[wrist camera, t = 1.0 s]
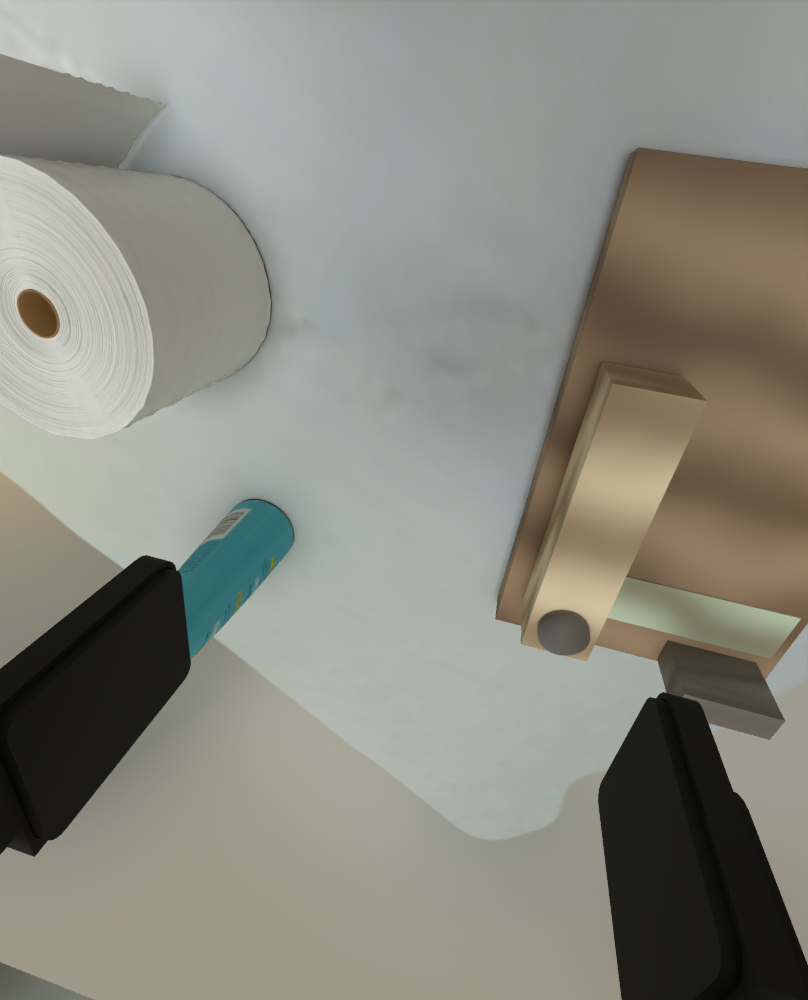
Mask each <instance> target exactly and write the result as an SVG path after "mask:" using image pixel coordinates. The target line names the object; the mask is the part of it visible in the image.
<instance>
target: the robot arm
mask: <svg viewBox="0 0 808 1000" xmlns="http://www.w3.org/2000/svg"><path fill="white" fill-rule="evenodd" d="M190 665H191V659H190V650H189V641H188V632H187V622H186V613H185V604H184V595H183V586H182V577H181V573H180V572H179V571H176V567H175V565H174V564H173V563H172V562H170V561H166V560H162V559H158V558H154V557H151V556H147V555H146V556H141V557H140V558H138V559H137V560H135V561H134V562H133V563H132V564H130V565H129V566H128V567H127V568H126V569H124V570H123V571H122V572H121V573H119V574H118V575H117V576H116V577H114V578H113V579H112V580H111V581H109V582H108V583H107V584H106V585H104V586H103V587H102V588H101V589H99V590H98V591H97V592H96V593H94V594H93V595H92V596H91V597H89V598H88V599H87V600H86V601H84V602H83V603H82V604H81V605H80V606H78V607H77V608H76V609H74V610H73V611H72V612H71V613H69V614H68V615H67V616H66V617H64V618H63V619H62V620H61V621H59V622H58V623H57V624H56V625H54V626H53V627H52V628H51V629H50V630H48V631H47V632H46V633H44V634H43V635H42V636H41V637H40V638H38V639H37V640H36V641H34V642H33V643H32V644H31V645H30V646H28V647H27V648H26V649H25V650H23V651H22V652H21V653H20V654H18V655H17V656H16V657H15V658H13V659H12V660H11V661H10V662H8V663H7V664H6V665H5V666H3V667H2V668H1V669H0V854H1V853H2V852H3V851H4V850H5V849H6V847H9V848H12V849H15V850H17V851H20V852H23V853H26V854H28V855H31V856H34V857H35V855H36V854H37V853H38V852H39V851H40V849H41V848H42V847H43V846H44V844H45V843H46V842H47V841H48V840H54V839H56V838H57V837H58V836H60V835H61V834H62V833H63V832H64V831H65V829H66V828H67V827H68V826H69V824H70V823H71V822H72V821H73V819H74V818H75V817H76V816H77V814H78V813H79V812H80V811H81V809H82V808H83V807H84V806H85V804H86V803H87V802H88V801H89V799H90V798H91V797H92V795H93V794H94V793H95V792H96V790H97V789H98V788H99V787H100V785H101V784H102V783H103V782H104V780H105V779H106V778H107V776H108V775H109V774H110V773H111V772H112V770H113V769H114V768H115V767H116V765H117V764H118V763H119V762H120V760H121V759H122V758H123V756H124V755H125V754H126V753H127V751H128V750H129V749H130V748H131V746H132V745H133V744H134V743H135V741H136V740H137V739H138V737H139V736H140V735H141V734H142V732H143V731H144V730H145V729H146V728H147V726H148V725H149V724H150V723H151V721H152V720H153V719H154V717H155V716H156V715H157V714H158V712H159V711H160V710H161V709H162V707H163V706H164V705H165V704H166V702H167V701H168V700H169V699H170V697H171V696H172V695H173V694H174V692H175V691H176V690H177V689H178V687H179V686H180V685H181V684H182V682H183V681H184V680H185V678H186V676H187V674H188V672H189V669H190ZM598 802H599V813H600V821H601V830H602V838H603V846H604V855H605V863H606V872H607V880H608V888H609V896H610V905H611V914H612V922H613V931H614V939H615V948H616V956H617V964H618V973H619V981H620V989H621V998H622V1000H808V965H807V962H806V959H805V957H804V954H803V952H802V949H801V946H800V944H799V941H798V938H797V936H796V933H795V930H794V928H793V925H792V923H791V920H790V917H789V915H788V912H787V910H786V907H785V905H784V902H783V899H782V896H781V894H780V891H779V889H778V886H777V883H776V881H775V878H774V875H773V873H772V871H771V868H770V865H769V863H768V860H767V857H766V855H765V852H764V849H763V847H762V844H761V841H760V839H759V836H758V834H757V831H756V828H755V826H754V823H753V821H752V818H751V815H750V813H749V810H748V808H747V806H746V804H745V802H744V801H743V799H742V798H741V797H740V796H739V795H738V794H737V793H735V792H733V789H732V787H731V784H730V782H729V779H728V776H727V773H726V770H725V768H724V765H723V763H722V759H721V757H720V754H719V751H718V749H717V746H716V743H715V741H714V738H713V735H712V732H711V729H710V727H709V724H708V721H707V719H706V716H705V713H704V710H703V708H702V706H701V704H700V703H699V702H698V701H695V700H691V699H687V698H684V697H680V696H676V695H672V694H669V693H664V692H662V693H661V694H659V696H658V697H657V698H656V699H655V698H651V697H650V698H648V699H647V700H646V702H645V704H644V706H643V707H642V709H641V711H640V713H639V715H638V716H637V718H636V720H635V722H634V724H633V726H632V727H631V729H630V731H629V733H628V735H627V736H626V738H625V740H624V742H623V744H622V746H621V747H620V749H619V751H618V753H617V755H616V756H615V758H614V760H613V762H612V764H611V765H610V767H609V769H608V771H607V773H606V775H605V777H604V778H603V780H602V782H601V784H600V788H599V794H598ZM0 1000H94V999H91V998H88V997H86V996H83V995H81V994H79V993H76V992H74V991H71V990H68V989H66V988H63V987H61V986H58V985H56V984H53V983H51V982H48V981H46V980H43V979H41V978H38V977H36V976H33V975H31V974H28V973H26V972H23V971H21V970H18V969H16V968H13V967H11V966H8V965H6V964H3V963H1V962H0Z"/></svg>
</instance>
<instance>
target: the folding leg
mask: <svg viewBox="0 0 808 1000" xmlns="http://www.w3.org/2000/svg"><path fill="white" fill-rule="evenodd" d="M706 403H707V400H706V399H705V398H704V397H703V396H702V395H701V394H700V393H699V392H698V391H697V390H696V389H695V388H694V387H693V386H692V385H691V383H690V382H689V381H688V380H687V379H686V378H685V377H684V376H678V375H673V374H667V373H662V372H656V371H651V370H645V369H640V368H635V367H629V366H624V365H618V364H613V363H607V362H602V365H601V368H600V371H599V374H598V377H597V380H596V383H595V386H594V389H593V392H592V395H591V398H590V401H589V404H588V407H587V410H586V413H585V416H584V419H583V422H582V425H581V428H580V431H579V434H578V437H577V440H576V442H575V445H574V448H573V451H572V454H571V457H570V460H569V463H568V466H567V469H566V472H565V475H564V478H563V481H562V484H561V487H560V490H559V493H558V496H557V499H556V502H555V505H554V508H553V511H552V514H551V517H550V520H549V523H548V526H547V529H546V532H545V535H544V538H543V541H542V544H541V547H540V550H539V553H538V556H537V559H536V562H535V565H534V568H533V571H532V574H531V577H530V580H529V583H528V586H527V589H526V592H525V595H524V598H523V601H522V624H521V644H523V645H527V646H531V647H535V648H539V649H542V650H546V651H549V652H551V653H554V654H557V655H565V656H569V657H573V658H576V659H580V660H584V661H587V660H588V658H589V656H590V654H591V651H592V649H593V647H594V645H595V643H596V641H597V639H598V636H599V634H600V632H601V630H602V628H603V626H604V623H605V621H606V619H607V617H608V615H609V613H610V610H611V608H612V606H613V604H614V602H615V600H616V597H617V595H618V593H619V591H620V589H621V587H622V584H623V582H624V580H625V578H626V576H627V574H628V572H629V569H630V567H631V565H632V563H633V561H634V559H635V556H636V554H637V552H638V550H639V548H640V546H641V543H642V541H643V539H644V537H645V535H646V533H647V530H648V528H649V526H650V524H651V522H652V520H653V517H654V515H655V513H656V511H657V509H658V507H659V505H660V502H661V500H662V498H663V496H664V494H665V492H666V489H667V487H668V485H669V483H670V481H671V479H672V476H673V474H674V472H675V470H676V468H677V466H678V463H679V461H680V459H681V457H682V455H683V453H684V450H685V448H686V446H687V444H688V442H689V440H690V438H691V435H692V433H693V431H694V429H695V427H696V425H697V422H698V420H699V418H700V416H701V414H702V412H703V409H704V407H705V405H706Z"/></svg>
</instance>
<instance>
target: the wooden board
mask: <svg viewBox="0 0 808 1000" xmlns="http://www.w3.org/2000/svg"><path fill="white" fill-rule="evenodd" d="M602 362H607V363H613V364H618V365H624V366H629V367H635V368H640V369H645V370H651V371H656V372H662V373H667V374H673V375H678V376H684V377H685V378H686V379H687V380H688V381H689V382H690V383H691V385H692V386H693V387H694V388H695V389H696V390H697V391H698V392H699V393H700V394H701V395H702V396H703V397H704V398H705V399H706V400H707V403H706V405H705V407H704V409H703V412H702V414H701V416H700V418H699V420H698V422H697V425H696V427H695V429H694V431H693V433H692V435H691V438H690V440H689V442H688V444H687V446H686V448H685V450H684V453H683V455H682V457H681V459H680V461H679V463H678V466H677V468H676V470H675V472H674V474H673V476H672V479H671V481H670V483H669V485H668V487H667V489H666V492H665V494H664V496H663V498H662V500H661V502H660V505H659V507H658V509H657V511H656V513H655V515H654V517H653V520H652V522H651V524H650V526H649V528H648V530H647V533H646V535H645V537H644V539H643V541H642V543H641V546H640V548H639V550H638V552H637V554H636V556H635V559H634V561H633V563H632V565H631V567H630V569H629V572H628V574H627V576H626V578H625V580H624V582H623V584H622V587H621V589H620V591H619V593H618V595H617V597H616V600H615V602H614V604H613V606H612V608H611V610H610V613H609V615H608V617H607V619H606V621H605V623H604V626H603V628H602V630H601V632H600V634H599V636H598V639H597V641H596V643H595V645H598V646H602V647H606V648H609V649H613V650H617V651H621V652H625V653H629V654H633V655H636V656H640V657H644V658H648V659H652V660H656V661H658V663H659V667H660V671H661V674H662V678H663V682H664V685H665V689H666V693H669V694H672V695H676V696H680V697H684V698H687V699H691V700H695V701H698V702H699V703H700V704H701V706H702V708H703V710H704V713H705V716H706V719H707V721H708V723H710V724H714V725H717V726H721V727H725V728H728V729H732V730H736V731H739V732H743V733H747V734H750V735H754V736H758V737H762V738H765V739H769V740H770V739H771V737H772V736H773V735H774V734H775V733H776V731H777V730H778V729H779V728H780V727H781V725H782V724H783V723H784V722H785V720H784V718H783V716H782V714H781V712H780V710H779V708H778V706H777V704H776V702H775V699H774V697H773V695H772V693H771V691H770V689H769V687H768V685H767V683H766V681H765V679H766V678H767V676H768V675H769V674H770V672H771V671H772V670H773V668H774V667H775V666H776V664H777V663H778V662H779V660H780V659H781V658H782V656H783V655H784V654H785V652H786V651H787V650H788V648H789V647H790V646H791V644H792V643H793V642H794V640H795V639H796V638H797V636H798V635H799V634H800V633H801V631H802V630H803V629H804V627H805V626H806V625H807V623H808V169H804V168H796V167H788V166H780V165H772V164H764V163H756V162H748V161H740V160H732V159H724V158H716V157H708V156H700V155H692V154H684V153H676V152H668V151H660V150H652V149H644V148H638V149H637V150H635V151H634V152H632V153H631V154H630V157H629V161H628V164H627V167H626V171H625V174H624V178H623V181H622V184H621V188H620V191H619V194H618V198H617V201H616V204H615V208H614V211H613V214H612V218H611V221H610V224H609V228H608V231H607V234H606V238H605V241H604V244H603V248H602V251H601V255H600V258H599V261H598V265H597V268H596V271H595V275H594V278H593V281H592V285H591V288H590V291H589V295H588V298H587V301H586V305H585V308H584V311H583V315H582V318H581V321H580V325H579V328H578V331H577V335H576V338H575V342H574V345H573V348H572V352H571V355H570V358H569V362H568V365H567V368H566V372H565V375H564V378H563V382H562V385H561V388H560V392H559V395H558V398H557V402H556V405H555V408H554V412H553V415H552V419H551V422H550V425H549V429H548V432H547V435H546V439H545V442H544V445H543V449H542V452H541V455H540V459H539V462H538V465H537V469H536V472H535V475H534V479H533V482H532V485H531V489H530V492H529V496H528V499H527V502H526V506H525V509H524V512H523V516H522V519H521V522H520V526H519V529H518V532H517V536H516V539H515V542H514V546H513V549H512V552H511V556H510V559H509V562H508V566H507V569H506V573H505V576H504V579H503V583H502V586H501V589H500V593H499V596H498V600H497V609H496V619H498V620H501V621H505V622H509V623H513V624H517V625H521V624H522V601H523V598H524V595H525V592H526V589H527V586H528V583H529V580H530V577H531V574H532V571H533V568H534V565H535V562H536V559H537V556H538V553H539V550H540V547H541V544H542V541H543V538H544V535H545V532H546V529H547V526H548V523H549V520H550V517H551V514H552V511H553V508H554V505H555V502H556V499H557V496H558V493H559V490H560V487H561V484H562V481H563V478H564V475H565V472H566V469H567V466H568V463H569V460H570V457H571V454H572V451H573V448H574V445H575V442H576V440H577V437H578V434H579V431H580V428H581V425H582V422H583V419H584V416H585V413H586V410H587V407H588V404H589V401H590V398H591V395H592V392H593V389H594V386H595V383H596V380H597V377H598V374H599V371H600V368H601V365H602Z"/></svg>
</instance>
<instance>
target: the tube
mask: <svg viewBox="0 0 808 1000" xmlns="http://www.w3.org/2000/svg"><path fill="white" fill-rule="evenodd" d="M292 543H293V530H292V527H291V524H290V522H289V521H288V519H287V517H286V516H285V515H284V514H283V513H282V512H281V511H280V510H279V509H278V508H276V507H274V506H273V505H271V504H268V503H266V502H264V501H260V500H248V501H244V502H241V503H239V504H238V505H236V506H235V507H234V508H233V509H232V510H231V512H230V513H229V514H228V515H227V516H226V517H225V518H224V519H223V520H222V521H221V522H220V524H219V525H218V526H217V527H216V528H215V529H214V530H213V531H212V532H211V533H210V535H209V536H208V537H207V538H206V539H205V540H204V541H203V542H202V543H201V545H200V546H199V547H198V548H197V549H196V550H195V551H194V553H193V554H192V555H191V556H190V557H189V558H188V560H187V561H186V562H185V563H184V564H183V565H182V566H181V568H180V569H179V570H178V571H179V572H180V573H181V577H182V586H183V595H184V604H185V613H186V622H187V632H188V641H189V650H190V659H192V658H193V657H194V656H195V654H197V653H198V652H199V651H200V650H201V649H202V648H203V646H204V645H205V644H206V643H207V642H208V641H209V640H210V639H211V638H212V637H213V636H214V635H215V634H216V633H217V632H218V631H219V630H220V629H221V628H222V627H223V626H224V625H225V623H226V622H227V621H228V620H229V619H230V618H231V617H232V616H233V615H234V614H235V613H236V611H237V610H238V609H239V608H240V607H241V606H242V605H243V604H244V603H245V601H246V600H247V599H248V598H249V597H250V596H251V595H252V594H253V592H254V591H255V590H256V589H257V588H258V587H259V585H260V584H261V583H262V582H263V581H264V580H265V578H266V577H267V576H268V575H269V574H270V573H271V571H272V570H273V569H274V568H275V567H276V566H277V564H278V563H279V562H280V561H281V560H282V558H283V557H284V556H285V555H286V553H287V552H288V551H289V549H290V548H291V546H292Z"/></svg>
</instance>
